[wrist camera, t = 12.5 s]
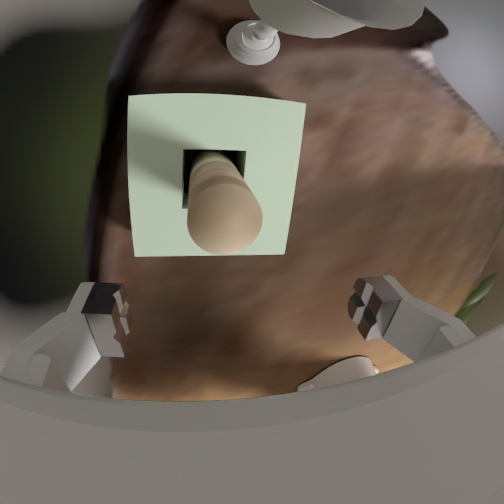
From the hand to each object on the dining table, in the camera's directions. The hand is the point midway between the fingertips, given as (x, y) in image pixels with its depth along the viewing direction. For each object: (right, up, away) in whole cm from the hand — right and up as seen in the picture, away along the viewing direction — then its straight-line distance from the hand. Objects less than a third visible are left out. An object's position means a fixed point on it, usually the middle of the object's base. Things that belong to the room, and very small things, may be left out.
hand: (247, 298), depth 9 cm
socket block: (-4, +9, +16) cm, 19 cm away
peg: (-4, +9, +16) cm, 19 cm away
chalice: (0, +21, +11) cm, 24 cm away
